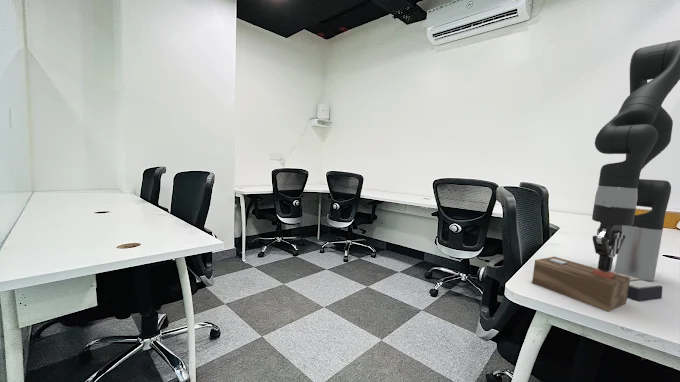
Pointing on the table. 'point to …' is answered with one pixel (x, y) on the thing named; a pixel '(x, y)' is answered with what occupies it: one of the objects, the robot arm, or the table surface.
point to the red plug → (603, 273)
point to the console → (581, 283)
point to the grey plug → (558, 261)
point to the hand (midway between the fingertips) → (604, 270)
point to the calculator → (642, 289)
